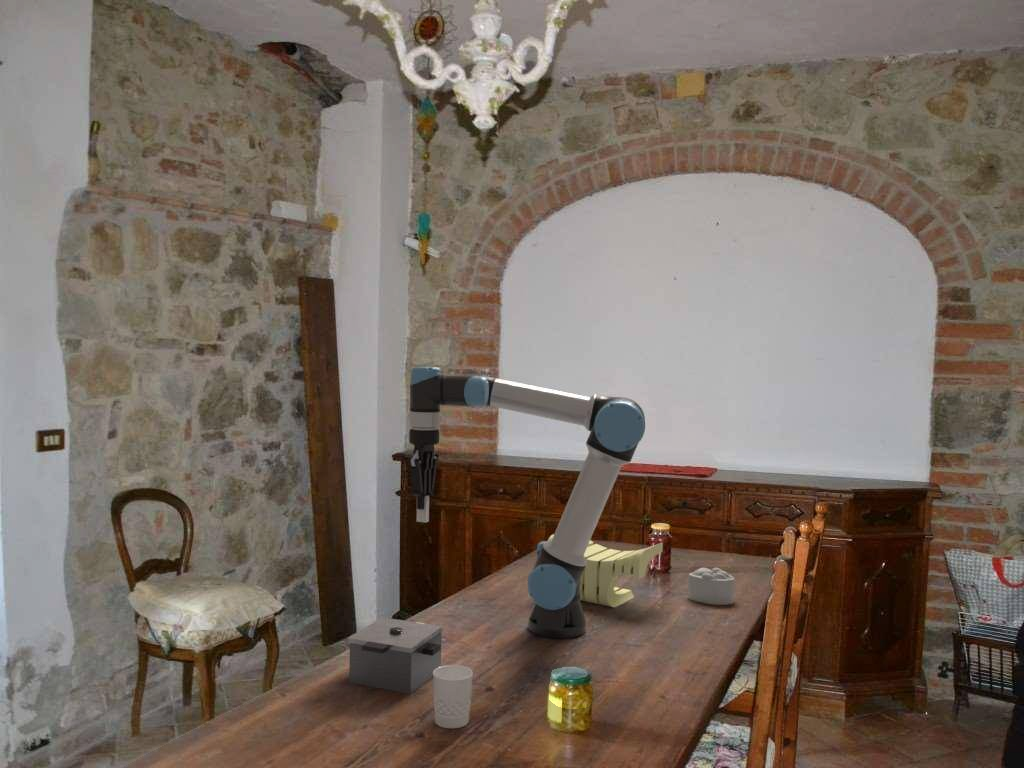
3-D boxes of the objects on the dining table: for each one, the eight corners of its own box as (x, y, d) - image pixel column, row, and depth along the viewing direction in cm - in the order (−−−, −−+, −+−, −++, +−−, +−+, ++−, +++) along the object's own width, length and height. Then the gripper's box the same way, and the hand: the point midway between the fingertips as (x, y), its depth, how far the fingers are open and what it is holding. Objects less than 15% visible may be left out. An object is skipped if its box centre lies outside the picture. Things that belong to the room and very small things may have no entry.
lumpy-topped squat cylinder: (698, 591, 273) (699, 563, 272) (739, 599, 265) (740, 570, 265) (684, 599, 264) (685, 570, 264) (726, 607, 257) (727, 578, 256)
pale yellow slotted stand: (544, 596, 263) (546, 536, 262) (570, 584, 276) (572, 527, 275) (637, 616, 247) (639, 552, 246) (660, 602, 260) (662, 542, 259)
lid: (443, 629, 203) (443, 623, 203) (404, 657, 186) (404, 649, 186) (383, 620, 209) (383, 613, 209) (340, 646, 191) (340, 639, 191)
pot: (450, 671, 203) (451, 632, 202) (420, 696, 189) (421, 654, 188) (373, 658, 210) (374, 620, 209) (339, 681, 195) (340, 640, 195)
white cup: (431, 713, 180) (432, 664, 180) (470, 712, 181) (471, 664, 180) (431, 730, 172) (433, 680, 172) (472, 730, 173) (473, 679, 173)
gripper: (422, 425, 230) (420, 515, 232) (398, 429, 218) (397, 524, 219) (449, 426, 228) (447, 518, 229) (426, 431, 215) (424, 528, 217)
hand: (422, 521), depth 224 cm, fingers closed
